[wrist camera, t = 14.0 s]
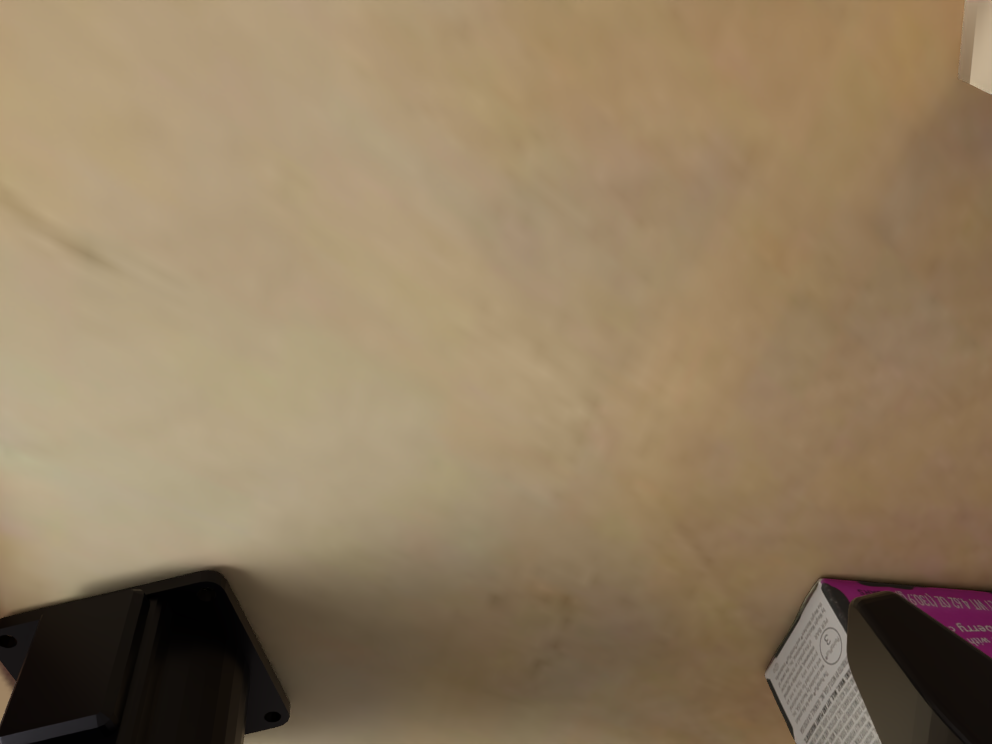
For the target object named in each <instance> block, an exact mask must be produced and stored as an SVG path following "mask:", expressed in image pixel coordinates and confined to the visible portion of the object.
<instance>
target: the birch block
mask: <svg viewBox="0 0 992 744" xmlns="http://www.w3.org/2000/svg"><path fill="white" fill-rule="evenodd" d="M958 79H960V80H962V81H964V82H966V83H969V84H971V85H973V86H975V87H977V88H979V89H981V90H983V91H985V92H987V93H989V94H991V95H992V0H965V5H964V16H963V27H962V37H961V48H960V59H959V69H958Z"/></svg>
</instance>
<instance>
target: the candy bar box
mask: <svg viewBox="0 0 992 744" xmlns="http://www.w3.org/2000/svg"><path fill="white" fill-rule="evenodd" d="M881 591H892V592H895V593H897V594H899V595H901V596H902V597H904V598H905V599H907V600H908V601H910V602H911V603H913V604H914V605H915V606H917V607H918V608H920V609H921V610H923V611H924V612H926V613H927V614H928V615H930V616H931V617H933V618H934V619H936V620H937V621H939V622H940V623H942V624H943V625H944V626H946V627H947V628H949V629H950V630H952V631H953V632H955V633H956V634H957V635H959V636H960V637H962V638H963V639H965V640H966V641H968V642H969V643H971V644H972V645H973V646H975V647H976V648H978V649H979V650H981V651H982V652H984V653H985V654H986V655H988V656H989V657H991V658H992V592H982V591H973V590H959V589H947V588H932V587H921V586H910V585H897V584H886V583H873V582H864V581H850V580H838V579H827V578H821V579H819V580H818V581H817V582H816V584H815V585H814V586H813V588H812V589H811V591H810V593H809V594H808V595H807V597H806V598H805V600H804V602H803V604H802V606H801V609H800V611H799V613H798V615H797V617H796V619H795V621H794V623H793V625H792V627H791V628H790V630H789V632H788V634H787V635H786V637H785V638H784V640H783V642H782V643H781V645H780V646H779V648H778V650H777V651H776V653H775V655H774V657H773V659H772V660H771V662H770V664H769V666H768V668H767V669H766V671H765V678H766V680H767V682H768V684H769V687H770V689H771V691H772V693H773V695H774V698H775V700H776V702H777V704H778V706H779V708H780V711H781V713H782V715H783V717H784V719H785V721H786V723H787V726H788V728H789V730H790V732H791V735H792V737H793V738H794V740H795V742H796V744H881V741H880V739H879V737H878V734H877V732H876V730H875V727H874V725H873V723H872V720H871V718H870V716H869V713H868V711H867V709H866V706H865V704H864V702H863V699H862V697H861V695H860V692H859V690H858V688H857V685H856V683H855V681H854V678H853V676H852V673H851V670H850V667H849V664H848V660H847V652H846V647H847V626H848V609H849V604H850V602H851V601H852V600H853V599H854V598H856V597H860V596H864V595H868V594H872V593H877V592H881Z"/></svg>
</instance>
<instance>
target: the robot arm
mask: <svg viewBox="0 0 992 744" xmlns="http://www.w3.org/2000/svg"><path fill="white" fill-rule="evenodd" d="M202 588H210V589H213V590H204V589H202ZM8 635H9V636H8ZM846 652H847V660H848V664H849V667H850V670H851V673H852V676H853V678H854V681H855V683H856V685H857V688H858V690H859V692H860V695H861V697H862V699H863V702H864V704H865V706H866V709H867V711H868V713H869V716H870V718H871V720H872V723H873V725H874V727H875V730H876V732H877V734H878V737H879V739H880V741H881V744H992V658H991V657H989V656H988V655H986V654H985V653H984V652H982V651H981V650H979V649H978V648H976V647H975V646H973V645H972V644H971V643H969V642H968V641H966V640H965V639H963V638H962V637H960V636H959V635H957V634H956V633H955V632H953V631H952V630H950V629H949V628H947V627H946V626H944V625H943V624H942V623H940V622H939V621H937V620H936V619H934V618H933V617H931V616H930V615H928V614H927V613H926V612H924V611H923V610H921V609H920V608H918V607H917V606H915V605H914V604H913V603H911V602H910V601H908V600H907V599H905V598H904V597H902V596H901V595H899V594H897V593H895V592H892V591H881V592H877V593H872V594H868V595H864V596H860V597H856V598H854V599H853V600H852V601H851V602H850V604H849V609H848V626H847V647H846ZM0 661H1V662H2V663H3V665H4V666H5V667H6V669H7V670H8V671H9V672H10V674H11V675H12V676H13V678H14V679H15V680H16V683H15V686H14V689H13V691H12V694H11V697H10V699H9V702H8V705H7V707H6V710H5V713H4V715H3V718H2V721H1V723H0V744H243V743H244V735H245V734H249V733H254V732H258V731H262V730H266V729H270V728H275V727H279V726H281V725H284V724H285V723H286V722H287V721H288V719H289V717H290V702H289V700H288V698H287V696H286V694H285V692H284V690H283V688H282V686H281V684H280V683H279V681H278V679H277V677H276V675H275V673H274V671H273V669H272V667H271V665H270V663H269V661H268V659H267V657H266V655H265V653H264V651H263V650H262V648H261V646H260V644H259V642H258V640H257V638H256V636H255V634H254V632H253V630H252V628H251V626H250V624H249V622H248V620H247V618H246V617H245V615H244V613H243V611H242V609H241V607H240V605H239V603H238V601H237V599H236V597H235V595H234V593H233V591H232V589H231V587H230V585H229V584H228V582H227V580H226V578H225V577H224V576H223V575H222V574H220V573H218V572H215V571H200V572H196V573H192V574H188V575H183V576H179V577H175V578H170V579H166V580H162V581H158V582H153V583H149V584H145V585H141V586H136V587H132V588H128V589H124V590H119V591H115V592H111V593H107V594H102V595H98V596H94V597H90V598H85V599H81V600H77V601H73V602H68V603H64V604H60V605H56V606H51V607H47V608H43V609H39V610H34V611H30V612H26V613H22V614H17V615H13V616H9V617H4V618H1V619H0Z"/></svg>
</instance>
